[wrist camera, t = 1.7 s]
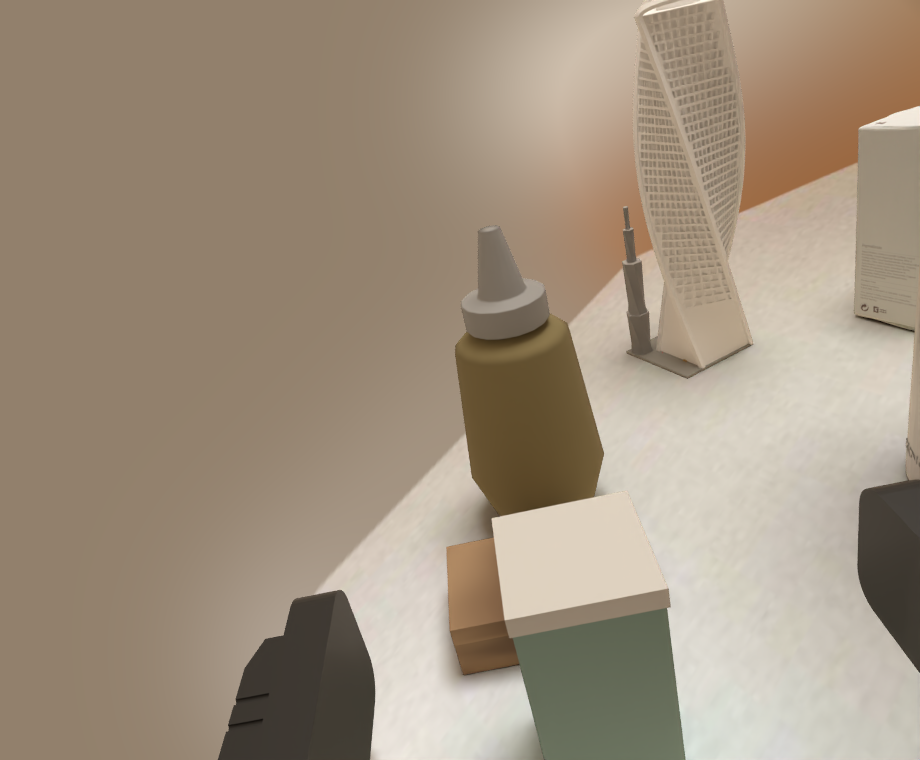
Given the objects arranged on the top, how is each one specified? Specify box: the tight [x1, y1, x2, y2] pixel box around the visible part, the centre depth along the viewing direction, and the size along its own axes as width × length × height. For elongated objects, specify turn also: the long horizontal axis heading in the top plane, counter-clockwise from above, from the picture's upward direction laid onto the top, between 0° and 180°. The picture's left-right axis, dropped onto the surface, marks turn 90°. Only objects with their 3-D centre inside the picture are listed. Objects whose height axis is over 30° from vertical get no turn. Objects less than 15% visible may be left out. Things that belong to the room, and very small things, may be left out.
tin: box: [491, 491, 685, 760], centre depth 28 cm, size 5×5×11 cm
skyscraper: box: [622, 0, 753, 379], centre depth 53 cm, size 8×8×28 cm
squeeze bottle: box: [455, 226, 604, 516], centre depth 41 cm, size 8×8×18 cm
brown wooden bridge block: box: [447, 537, 519, 675], centre depth 37 cm, size 8×6×3 cm
